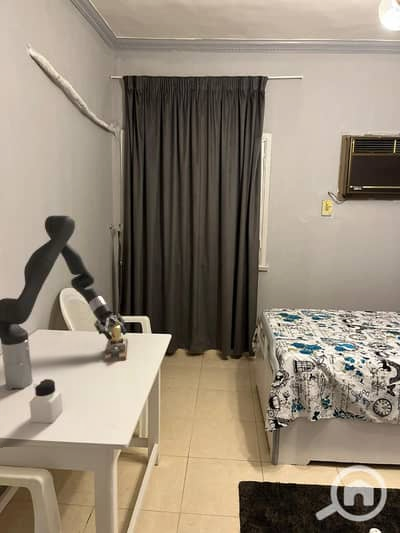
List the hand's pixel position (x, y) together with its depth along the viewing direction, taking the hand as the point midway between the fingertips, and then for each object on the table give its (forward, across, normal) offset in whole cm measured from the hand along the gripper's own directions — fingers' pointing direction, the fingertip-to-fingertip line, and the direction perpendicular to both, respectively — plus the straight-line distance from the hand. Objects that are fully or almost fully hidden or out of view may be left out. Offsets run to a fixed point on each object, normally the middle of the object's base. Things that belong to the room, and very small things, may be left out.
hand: (118, 336), depth 174 cm
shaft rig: (+4, 0, +6) cm, 7 cm away
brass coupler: (+3, 0, +5) cm, 6 cm away
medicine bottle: (+21, -50, -10) cm, 55 cm away
